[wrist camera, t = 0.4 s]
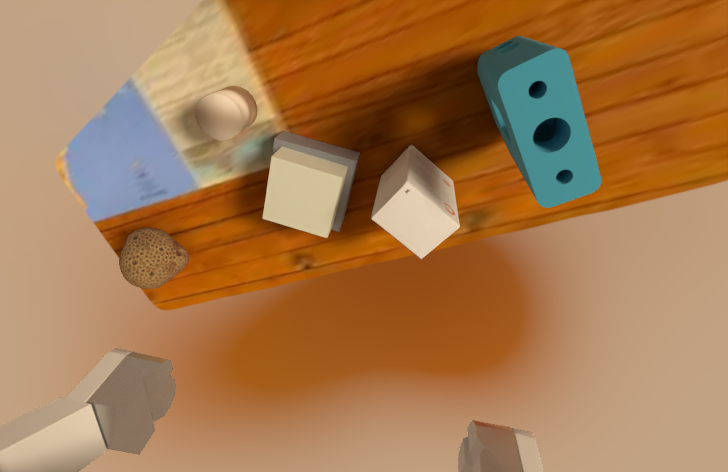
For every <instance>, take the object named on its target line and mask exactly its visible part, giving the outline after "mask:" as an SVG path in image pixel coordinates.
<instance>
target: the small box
mask: <svg viewBox="0 0 728 472" xmlns="http://www.w3.org/2000/svg"><path fill="white" fill-rule="evenodd" d="M371 219H372V220H373V221H374V222H375V223H377V224H378V225H379V226H380V227H382V228H383V229H384V230H385V231H387V232H388V233H389V234H390V235H392V236H393V237H394V238H395V239H397V240H398V241H399V242H400V243H402V244H403V245H404V246H405V247H407V248H408V249H409V250H410V251H412V252H413V253H414V254H415V255H417V256H418V257H419V258H420V259H422V258H423V257H424V256H426V255H427V254H428V253H429V252H430V251H432V250H433V249H434V248H435V247H436V246H438V245H439V244H440V243H441V242H442V241H444V240H445V239H446V238H447V237H449V236H450V235H451V234H452V233H453V232H455V231H456V230H457V229H458V228H459V227H460V224H459V218H458V211H457V204H456V198H455V191H454V184H453V181H452V180H451V179H450V178H449V177H448V176H447V175H446V174H445V173H444V172H442V171H441V170H440V169H439V168H438V167H437V166H436V165H435V164H433V163H432V162H431V161H430V160H429V159H428V158H427V157H425V156H424V155H423V154H422V153H421V152H420V151H419V150H417V149H416V148H415V147H414V146H413V145H410V146H409V147H408V148H407V149H406V150H405V151H404V152H403V153H402V154H401V155H400V157H399V158H398V159H397V160H396V161H395V162H394V163H393V164H392V165H391V166H390V167H389V168H388V169H387V170H386V171H385V172H384V173H383V174H382V176H381V178H380V182H379V186H378V190H377V195H376V199H375V203H374V207H373V211H372V216H371Z"/></svg>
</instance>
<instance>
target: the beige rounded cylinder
mask: <svg viewBox="0 0 728 472" xmlns="http://www.w3.org/2000/svg"><path fill="white" fill-rule="evenodd" d="M256 116H257V105H256V102H255V100H254V98H253V97H252V95H251V94H250V93H249V92H248V91H246V90H245V89H243V88H241V87H238V86H230V87H227V88H224V89H222V90H220V91H217V92H215V93H212V94H210V95H207V96H205V97H203V98H202V99H201V100H200V101H199V102H198V104H197V107H196V119H197V122H198V124H199V126H200V128H201V129H202V130H203V132H204V133H205V134H207V135H208V136H209V137H211V138H213V139H216V140H221V141H223V140H228V139H231V138H232V137H234V136H235V135H237V134H238V133H240V132H241V131H243V130H244V129H246V128H247V127H249V126H250V125H251V124H252V123H253V122H254V121H255V119H256Z"/></svg>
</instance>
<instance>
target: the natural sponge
mask: <svg viewBox="0 0 728 472" xmlns="http://www.w3.org/2000/svg"><path fill="white" fill-rule="evenodd" d="M188 261H189V255H188V252H187V251H186V250H185V249H184V248H183V247H182V246H181V245H179V244H178V243H177V242H176V241H174V240H173V239H172V238H171V237H170V236H169V235H168V234H167V233H166V232H164V231H162V230H160V229H155V228H142V229H138V230H136V231H134V232H132V233H131V234H130V235H129V236H128V237H127V240H126V242H125V245H124V247H123V249H122V252H121V255H120V259H119V265H120V269H121V272H122V274H123V276H124V278H125V279H126V280H127V281H128V282H129V283H131V284H132V285H135V286H137V287H140V288H145V289H154V288H158V287H160V286H162V285H164V284H165V283H166V282H168V281H169V280H170V279H172V278H173V277H174V276H175V275H176V274H177V273H179V272H180V271H181V270H182V269H183V268H184V267H185V266H186V265H187V263H188Z"/></svg>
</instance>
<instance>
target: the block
mask: <svg viewBox="0 0 728 472" xmlns="http://www.w3.org/2000/svg"><path fill="white" fill-rule="evenodd" d="M477 73H478V76H479V79H480V82H481V85H482V87H483V90H484V93H485V96H486V98H487V101H488V104H489V107H490V109H491V112H492V115H493V118H494V120H495V123H496V125H497V127H498V129H499V131H500V133H501V135H502V138H503V140H504V142H505V144H506V146H507V148H508V150H509V152H510V154H511V156H512V157H513V159H514V161H515V163H516V165H517V166H518V168H519V170H520V172H521V173H522V175H523V177H524V179H525V180H526V182H527V184H528V186H529V187H530V189H531V191H532V193H533V194H534V196H535V198H536V200H537V201H538V203H539V204H540V205H541V206H543V207H546V208H549V207H554V206H556V205H559V204H562V203H565V202H568V201H570V200H573V199H576V198H579V197H582V196H585V195H587V194H590V193H593V192H594V191H596V190H597V189H598V188H599V187H600V185H601V175H600V172H599V168H598V164H597V160H596V157H595V153H594V149H593V145H592V142H591V138H590V134H589V130H588V127H587V123H586V119H585V115H584V112H583V108H582V104H581V100H580V97H579V93H578V89H577V85H576V82H575V78H574V74H573V70H572V67H571V63H570V59H569V56H568V54H567V52H566V51H564V50H563V49H560V48H557V47H554V46H550V45H547V44H544V43H541V42H538V41H535V40H531V39H528V38H525V37H521V36H517V37H514V38H512V39H510V40H508V41H506V42H504V43H502V44H500V45H498V46H496V47H494V48H492V49H490V50H488V51H486V52H484V53H483V54H482V55H481V56H480V58H479V60H478V67H477Z"/></svg>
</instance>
